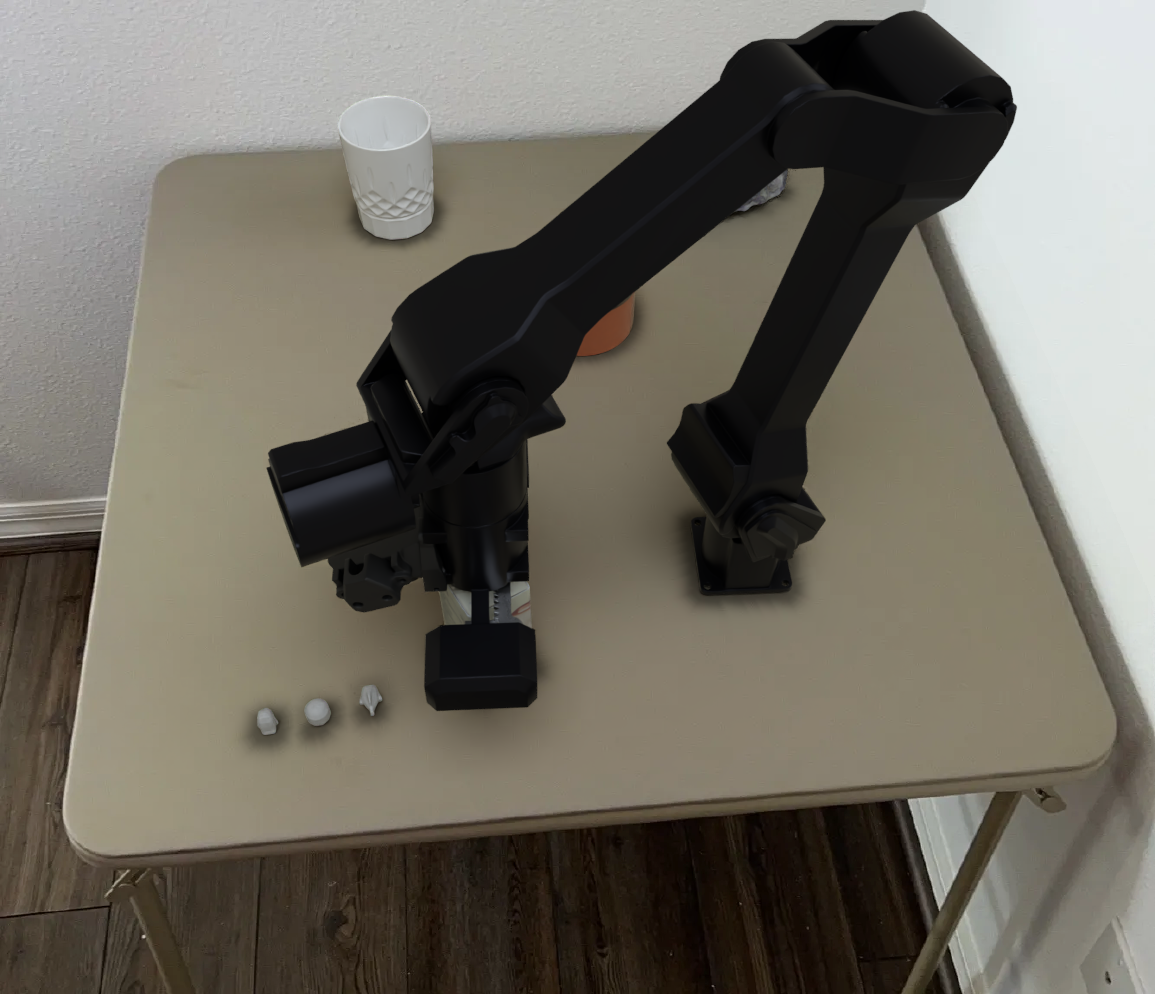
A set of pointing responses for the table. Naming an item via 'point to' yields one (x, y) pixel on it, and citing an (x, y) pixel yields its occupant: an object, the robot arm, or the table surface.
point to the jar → (609, 329)
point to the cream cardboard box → (459, 604)
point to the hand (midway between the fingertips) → (486, 630)
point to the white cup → (389, 164)
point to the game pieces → (318, 710)
